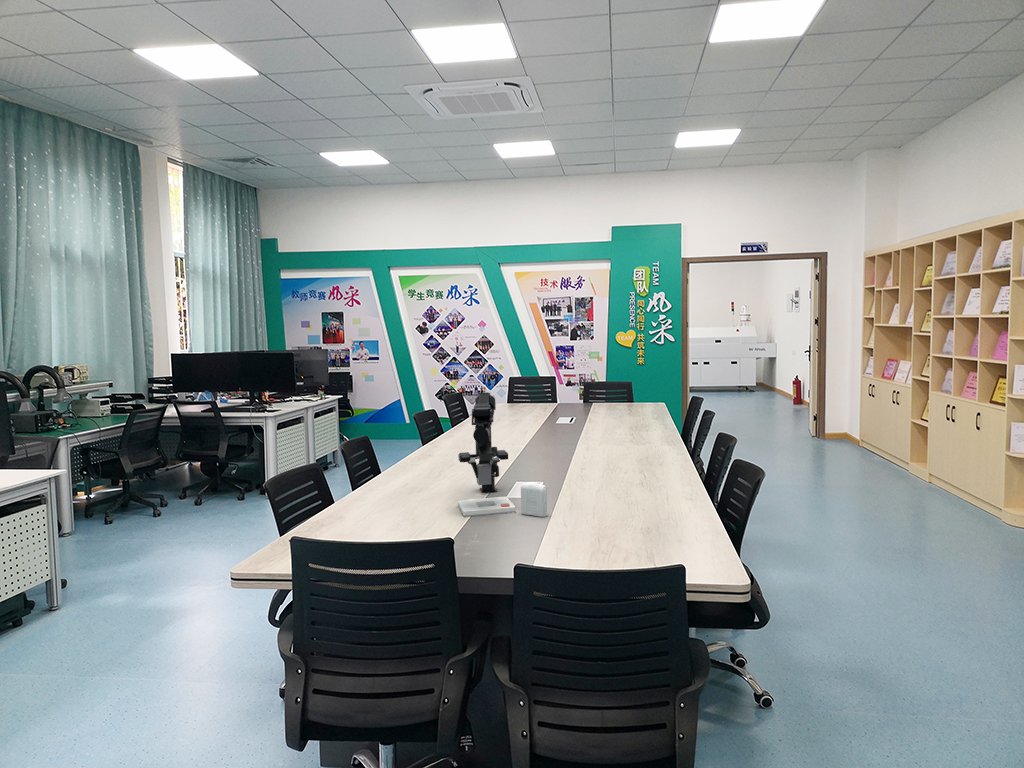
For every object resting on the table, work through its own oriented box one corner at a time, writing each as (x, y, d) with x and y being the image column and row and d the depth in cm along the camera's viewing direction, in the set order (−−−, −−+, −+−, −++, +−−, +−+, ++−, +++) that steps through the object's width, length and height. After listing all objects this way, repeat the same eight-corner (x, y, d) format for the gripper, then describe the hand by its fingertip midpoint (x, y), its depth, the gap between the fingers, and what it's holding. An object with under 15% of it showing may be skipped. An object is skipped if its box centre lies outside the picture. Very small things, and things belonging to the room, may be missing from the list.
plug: (476, 482, 262) (476, 464, 261) (489, 481, 263) (488, 463, 262) (478, 485, 257) (478, 467, 256) (491, 484, 258) (491, 466, 257)
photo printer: (549, 514, 251) (548, 482, 250) (543, 518, 247) (543, 485, 246) (524, 511, 256) (524, 479, 255) (519, 514, 252) (518, 482, 251)
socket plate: (457, 505, 266) (457, 498, 266) (506, 501, 271) (506, 494, 270) (463, 516, 251) (463, 509, 250) (515, 512, 255) (515, 505, 255)
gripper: (461, 443, 248) (462, 484, 250) (510, 440, 252) (511, 481, 254) (457, 438, 259) (458, 477, 261) (504, 435, 263) (505, 474, 265)
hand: (483, 478), depth 260 cm, fingers closed on plug, 5 cm apart
